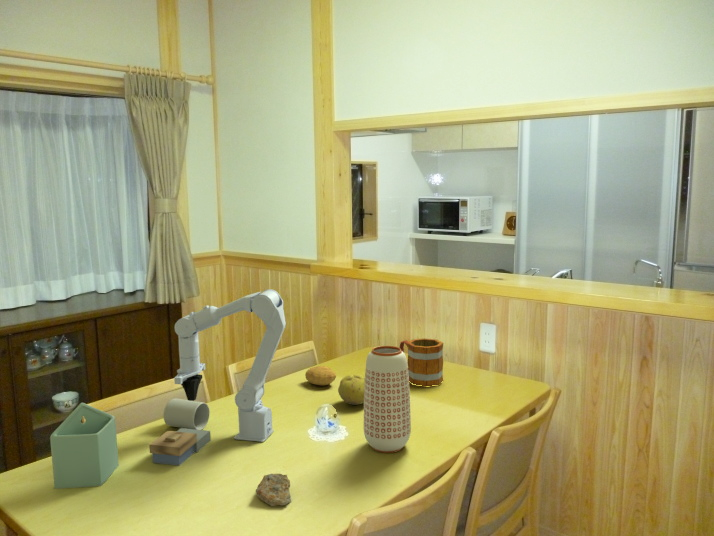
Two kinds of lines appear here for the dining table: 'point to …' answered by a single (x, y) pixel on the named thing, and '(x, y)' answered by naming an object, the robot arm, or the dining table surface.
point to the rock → (274, 489)
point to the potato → (320, 375)
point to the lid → (173, 443)
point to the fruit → (352, 389)
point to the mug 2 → (424, 361)
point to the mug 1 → (186, 414)
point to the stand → (198, 437)
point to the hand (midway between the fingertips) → (191, 399)
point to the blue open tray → (172, 457)
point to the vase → (387, 399)
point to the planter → (84, 448)
